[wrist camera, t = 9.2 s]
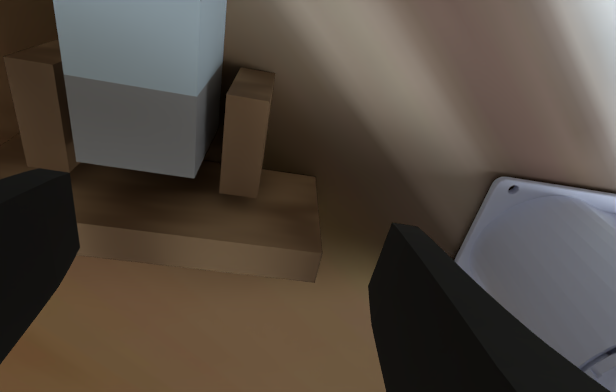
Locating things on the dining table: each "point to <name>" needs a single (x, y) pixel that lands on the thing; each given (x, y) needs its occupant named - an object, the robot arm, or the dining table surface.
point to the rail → (142, 80)
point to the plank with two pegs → (172, 185)
